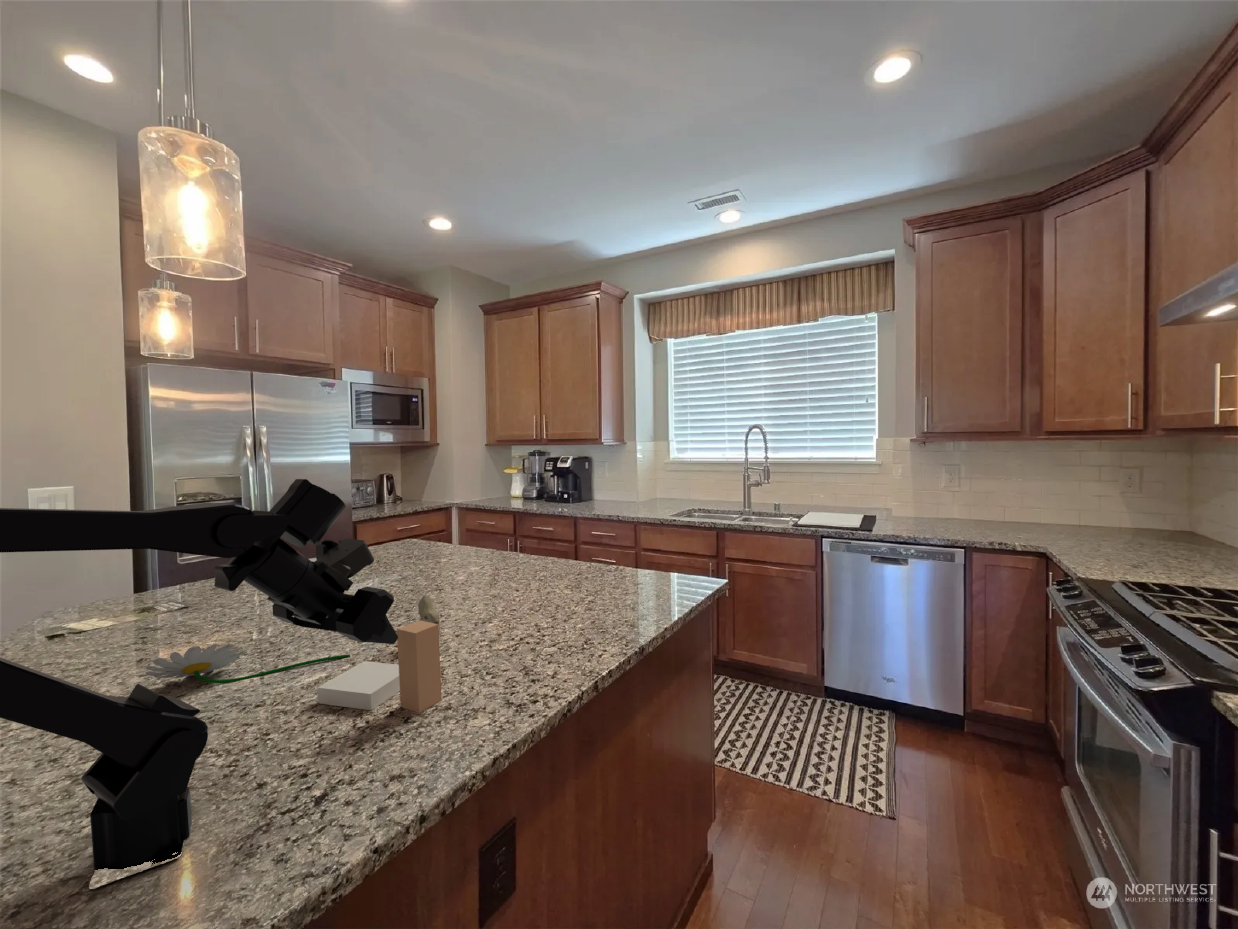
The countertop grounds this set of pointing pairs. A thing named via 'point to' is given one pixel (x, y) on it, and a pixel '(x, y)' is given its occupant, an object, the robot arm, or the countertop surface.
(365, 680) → the plinth
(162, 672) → the flower
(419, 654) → the block
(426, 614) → the chocolate bunny
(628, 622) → the countertop surface
